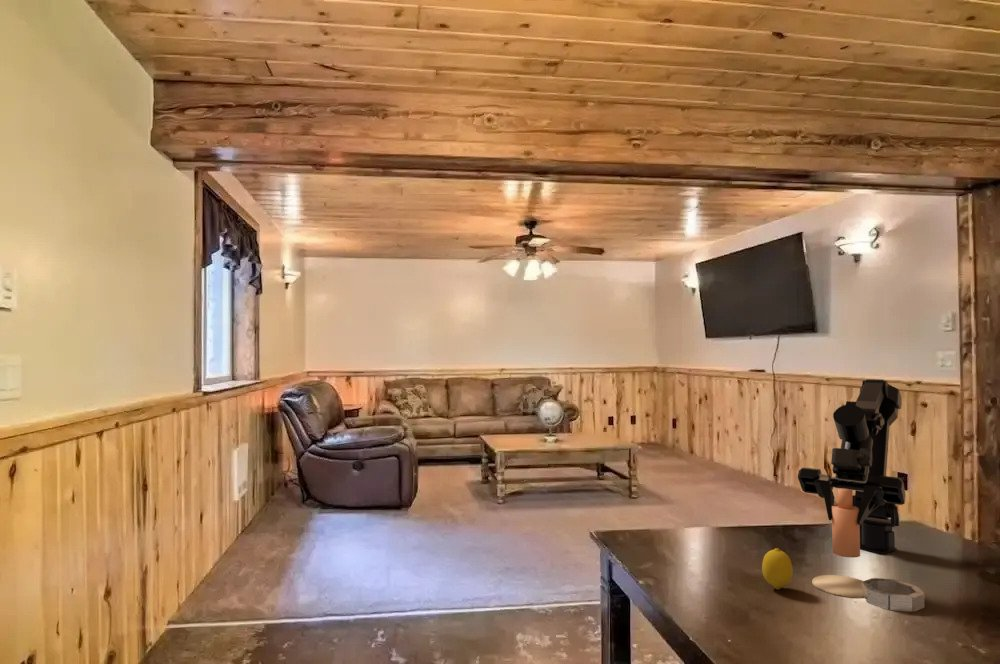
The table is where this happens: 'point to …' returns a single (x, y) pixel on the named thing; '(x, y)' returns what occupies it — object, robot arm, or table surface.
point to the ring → (893, 594)
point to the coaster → (839, 585)
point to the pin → (845, 526)
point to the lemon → (777, 568)
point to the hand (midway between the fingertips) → (844, 521)
